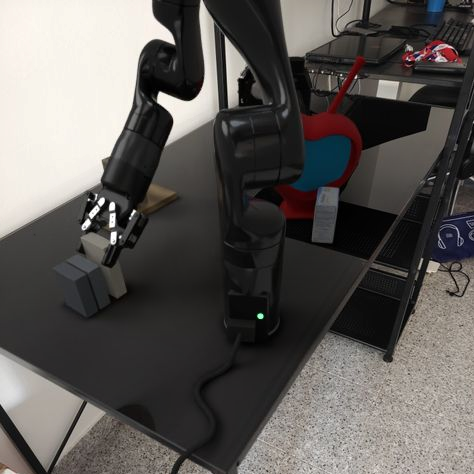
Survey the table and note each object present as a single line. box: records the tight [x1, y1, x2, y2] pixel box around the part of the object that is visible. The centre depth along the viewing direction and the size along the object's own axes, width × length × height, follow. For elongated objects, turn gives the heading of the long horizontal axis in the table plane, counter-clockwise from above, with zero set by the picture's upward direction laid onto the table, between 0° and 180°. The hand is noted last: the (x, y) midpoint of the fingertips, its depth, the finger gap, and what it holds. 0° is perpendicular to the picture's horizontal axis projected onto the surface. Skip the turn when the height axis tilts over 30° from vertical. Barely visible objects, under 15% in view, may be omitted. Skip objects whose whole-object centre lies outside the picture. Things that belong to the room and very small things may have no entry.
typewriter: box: [236, 55, 319, 116], centre depth 112 cm, size 31×27×25 cm
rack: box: [86, 155, 178, 232], centre depth 97 cm, size 20×9×12 cm, turn 142°
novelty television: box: [273, 55, 367, 220], centre depth 89 cm, size 21×13×30 cm, turn 87°
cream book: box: [81, 232, 128, 299], centre depth 76 cm, size 2×6×10 cm, turn 52°
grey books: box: [51, 253, 112, 319], centre depth 74 cm, size 5×6×8 cm
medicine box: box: [311, 187, 340, 245], centre depth 89 cm, size 8×4×9 cm, turn 169°
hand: (93, 259), depth 74 cm, fingers closed on cream book, 6 cm apart
